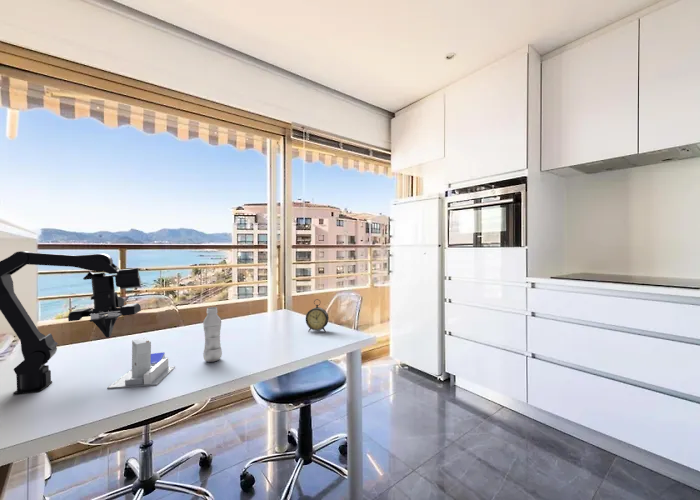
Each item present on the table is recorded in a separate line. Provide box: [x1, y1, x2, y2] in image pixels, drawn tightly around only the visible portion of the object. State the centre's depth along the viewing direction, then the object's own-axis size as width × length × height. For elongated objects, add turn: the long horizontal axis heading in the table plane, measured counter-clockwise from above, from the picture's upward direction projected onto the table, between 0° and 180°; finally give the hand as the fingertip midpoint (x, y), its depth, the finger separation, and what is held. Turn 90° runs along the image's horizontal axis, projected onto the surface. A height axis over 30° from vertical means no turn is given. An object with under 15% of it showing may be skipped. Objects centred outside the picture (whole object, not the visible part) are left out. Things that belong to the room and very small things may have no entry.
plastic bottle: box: [202, 306, 223, 363], centre depth 116 cm, size 6×7×20 cm
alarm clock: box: [305, 298, 329, 333], centre depth 154 cm, size 11×5×16 cm, turn 81°
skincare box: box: [131, 337, 152, 378], centre depth 102 cm, size 6×4×12 cm
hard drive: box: [151, 351, 166, 366], centre depth 114 cm, size 2×8×12 cm
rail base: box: [107, 357, 176, 390], centre depth 102 cm, size 14×14×4 cm
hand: (108, 337), depth 104 cm, fingers closed
